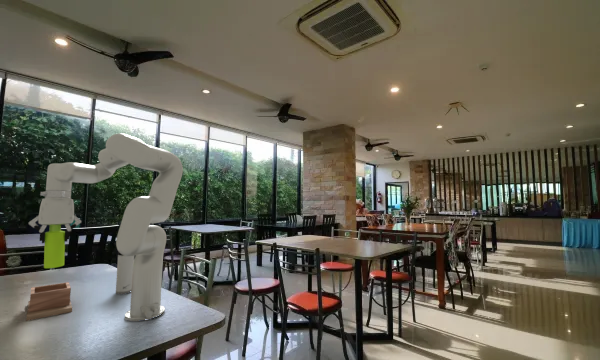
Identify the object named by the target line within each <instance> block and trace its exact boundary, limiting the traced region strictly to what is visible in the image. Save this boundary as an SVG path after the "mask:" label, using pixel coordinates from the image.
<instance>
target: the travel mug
mask: <svg viewBox="0 0 600 360" xmlns="http://www.w3.org/2000/svg"><path fill="white" fill-rule="evenodd" d="M117 251H118V250H117ZM134 259H135V256H124V255H122V254H121V253H120V252H119V251H118V252H117V264H116V265H117V269H116V280H115V281H116V282H115V294H116V295H126V294H125V293H127V294H129V293H128V292H130V291H131V287H132V271H133V262H134ZM130 293H131V292H130Z"/></svg>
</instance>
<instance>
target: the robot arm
mask: <svg viewBox="0 0 600 360" xmlns="http://www.w3.org/2000/svg"><path fill="white" fill-rule="evenodd" d="M97 156H98V157H97V158H98V161H99V163H96V164H86V163H79V162H72V161H71V162H70V161H69V162H63V163H50V164H49V165H48V166H47V173H46V174H47V175H46V186H45V191H40V194H39V195H40V196H43V197H44V198H42V199H41V203H40V206H39V213H38V215H36V217H34V218H33V219H32V220H30V221H29V222H28V225H29V226H31V227H32V228H33V229H35V230H36V231H38V232H39V242H41V244H45V233H46V232H45V229H46V228H47V226H50V225H61V226H62V225H64V226H65V228H66V229H65V230H64V231H65V243H66V242H68V240H70V237H71V232H72V230H73V229H75V228H76V227H77V226H78V225H80V224H82V220H81V219H79V218H78V217H77V215H75V203H74V199H72V185H73V183H81V184H96V183H99V182H101V181H104V180H106V179H109V178H111V177H112V176H113V175H114V174H115V172H117V171H116V170H117V169H120V168H123V167H124V166H125V167H126V166H128V165H132V166H133V167H136V168H139V169H142V170H147V171H153V172H157V173H159V174H158V176H157V177H156V178H155V179H154V180H153V182H152V185H151V188H150V191H149V194H148V195H147V196H145V195H144V196H143V195H142V196H136V197H135V198H133V199H131V201H129V203H128V204H127V205H126V208H125V211H124V212H123V215H122V219H121V222H120V225H119V228H118V232H117V235H116V240H115V241H116V243H115V245H116V249H117V251H119V252H120V253H121V254H122V255H124V256H134V262H133V271H132V287H131V292H130V307H129V310H128V311H126V312H125V314H124V320H126V321H128V320H129V322H140V321H139V320H145V319H150V318H153V317H156V316H158V315H160V314H162V313H163V312H164V311H165V312H166V307H165V306H163V305H161V303H162V302H161V300H162V281H163V280H162V279H163V262H164V261H163V259H164V253H165V248H166V244H167V234H166V231H165V230H164V228H162V227H161V226H159V225H154V224H157V223H163V222H165V221H166V220H168V219H169V217H170V215H171V212H172V209H173V205H174V201H175V199H176V195H177V191H178V188H179V186H180V182H181V180H182V176H183V172H184V168H183V167H184V166H183V163H182V161H181V159H180V158H179V157H178V156H177V155H176V154H174V153H172V152H171V151H168V150H165V149H163V148H159V147H155V146H153V145H149V144H146V142H145V141H144V140H142V139H140V138H137V137H135V136H133V135H132V136H131V135H129V134H126V133H122V132H121V133H118V132H117V133H114V134H111V135H110V136H109V137H108V138H107V140H106V141H105V148H103V149H101V150H100V151H99V152H98V155H97ZM74 221H75V222H74ZM36 222H38V224H39V225H41V226H39V225H38V224H37V223H36ZM73 222H74V223H73ZM72 223H73V224H72ZM70 224H71V225H70ZM165 312H164V313H165ZM164 313H163V314H164ZM163 314H162V315H163ZM150 320H151V319H150ZM145 321H146V320H145Z"/></svg>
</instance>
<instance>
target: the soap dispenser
mask: <svg viewBox="0 0 600 360" xmlns="http://www.w3.org/2000/svg"><path fill="white" fill-rule="evenodd" d="M48 226H49V230H48V231H46V232H45V242H44V247H43V248H44V250H43V253H44V254H43V256H44V257H43V258H44V259H43V268H44V269H53V268H55V269H56V268H60V267H63V266H65V256H66V255H65V254H66V253H65V252H66V251H65V249H66V245H65V244H66V242H65V231H66V230H62V224H61V225H48Z"/></svg>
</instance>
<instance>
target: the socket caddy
mask: <svg viewBox="0 0 600 360" xmlns="http://www.w3.org/2000/svg"><path fill="white" fill-rule="evenodd" d="M71 291H72V288H71V285H70V282H68V281H67V282H60V283H53V284H47V285H46V284H45V285H38V286H32V287H30V297H29V298H30V299H29V300H28V303H27V308H26V309H27V310H26V318H25V321H26V322H28V321H32V320H33V321H34V320H36V319H37V320H38V319H42V318H48V317H51V316H52V317H53V316H57V315H62V314H67V313H72V312H73V305H72V302H71Z"/></svg>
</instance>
